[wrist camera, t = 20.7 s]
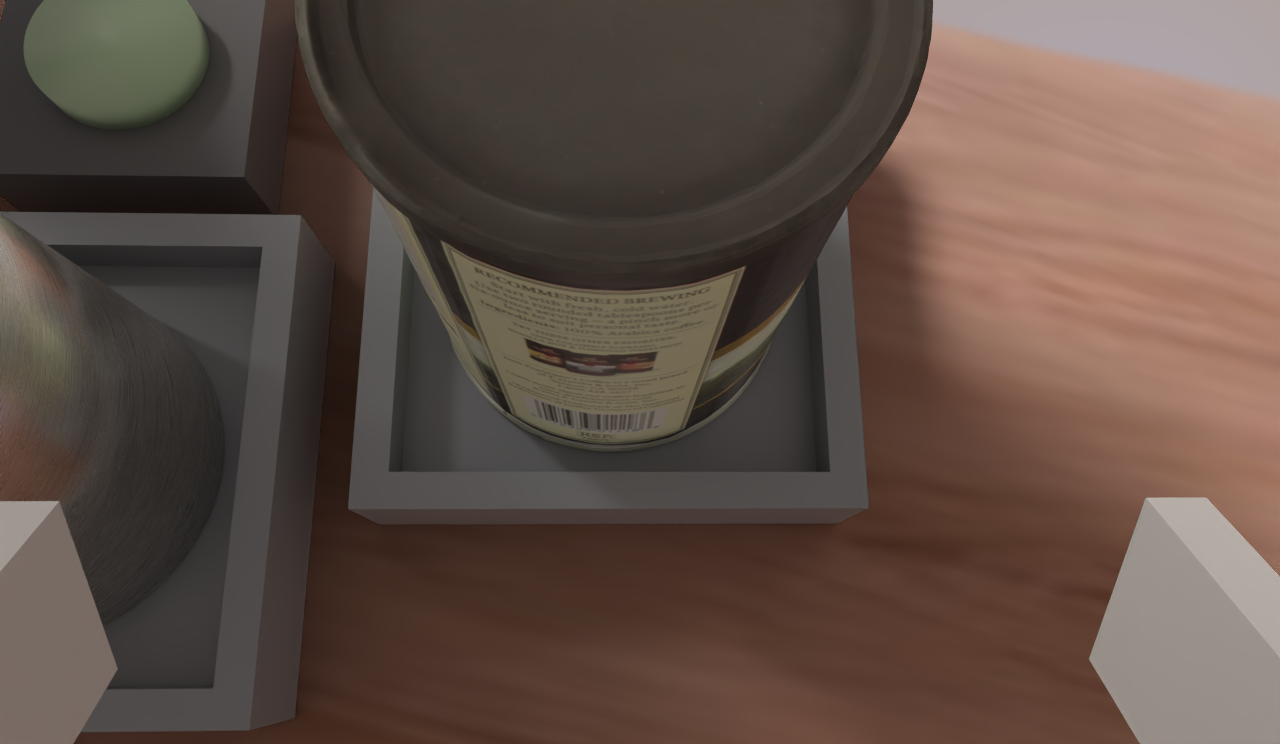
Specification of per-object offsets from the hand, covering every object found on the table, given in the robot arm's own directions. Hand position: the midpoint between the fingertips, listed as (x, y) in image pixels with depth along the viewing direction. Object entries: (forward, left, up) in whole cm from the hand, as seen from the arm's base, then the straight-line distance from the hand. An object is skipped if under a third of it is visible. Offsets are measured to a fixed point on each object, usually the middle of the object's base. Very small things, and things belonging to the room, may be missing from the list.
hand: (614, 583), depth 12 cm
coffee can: (-10, 0, -15) cm, 18 cm away
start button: (-17, -15, -17) cm, 28 cm away
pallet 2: (-10, 0, -17) cm, 19 cm away
